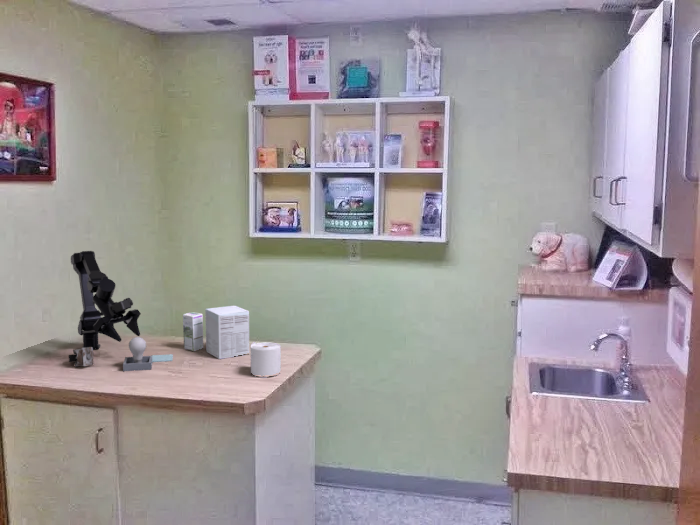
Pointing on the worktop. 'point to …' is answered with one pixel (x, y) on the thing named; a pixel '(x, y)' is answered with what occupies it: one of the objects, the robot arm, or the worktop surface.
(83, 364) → the caster wheel
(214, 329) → the supplement box
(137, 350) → the lightbulb
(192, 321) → the syrup box
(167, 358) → the coaster
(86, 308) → the robot arm
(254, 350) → the toilet tissue
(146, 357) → the grey square frame
